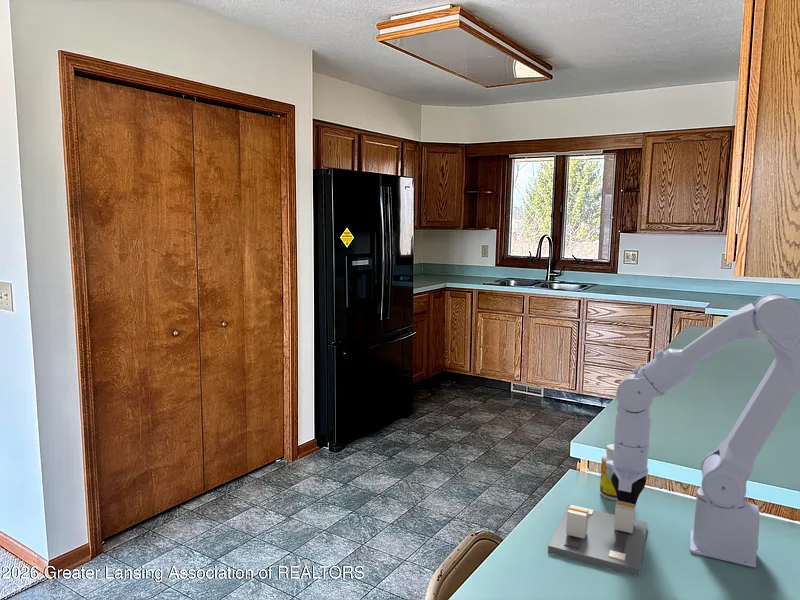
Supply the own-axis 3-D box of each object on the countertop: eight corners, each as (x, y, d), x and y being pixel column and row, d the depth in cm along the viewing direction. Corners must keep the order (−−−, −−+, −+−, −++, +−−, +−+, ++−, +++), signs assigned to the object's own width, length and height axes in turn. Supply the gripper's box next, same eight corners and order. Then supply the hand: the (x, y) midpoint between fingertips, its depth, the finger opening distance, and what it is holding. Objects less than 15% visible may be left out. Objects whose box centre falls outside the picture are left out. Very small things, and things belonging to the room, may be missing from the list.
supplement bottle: (604, 487, 122) (608, 440, 121) (632, 495, 118) (635, 446, 117) (595, 496, 118) (598, 447, 116) (623, 504, 114) (626, 454, 113)
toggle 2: (633, 525, 102) (635, 503, 102) (632, 533, 100) (633, 510, 99) (615, 521, 104) (617, 499, 103) (613, 529, 101) (615, 506, 100)
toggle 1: (587, 530, 100) (588, 507, 100) (584, 538, 97) (585, 514, 97) (569, 526, 101) (570, 503, 101) (566, 534, 99) (567, 510, 98)
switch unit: (646, 528, 105) (647, 521, 104) (638, 576, 90) (639, 568, 89) (567, 510, 111) (568, 503, 111) (547, 552, 96) (548, 544, 96)
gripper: (613, 426, 111) (608, 494, 113) (602, 450, 99) (597, 526, 100) (652, 433, 108) (647, 502, 110) (646, 458, 95) (641, 537, 97)
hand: (626, 514), depth 105 cm, fingers closed
